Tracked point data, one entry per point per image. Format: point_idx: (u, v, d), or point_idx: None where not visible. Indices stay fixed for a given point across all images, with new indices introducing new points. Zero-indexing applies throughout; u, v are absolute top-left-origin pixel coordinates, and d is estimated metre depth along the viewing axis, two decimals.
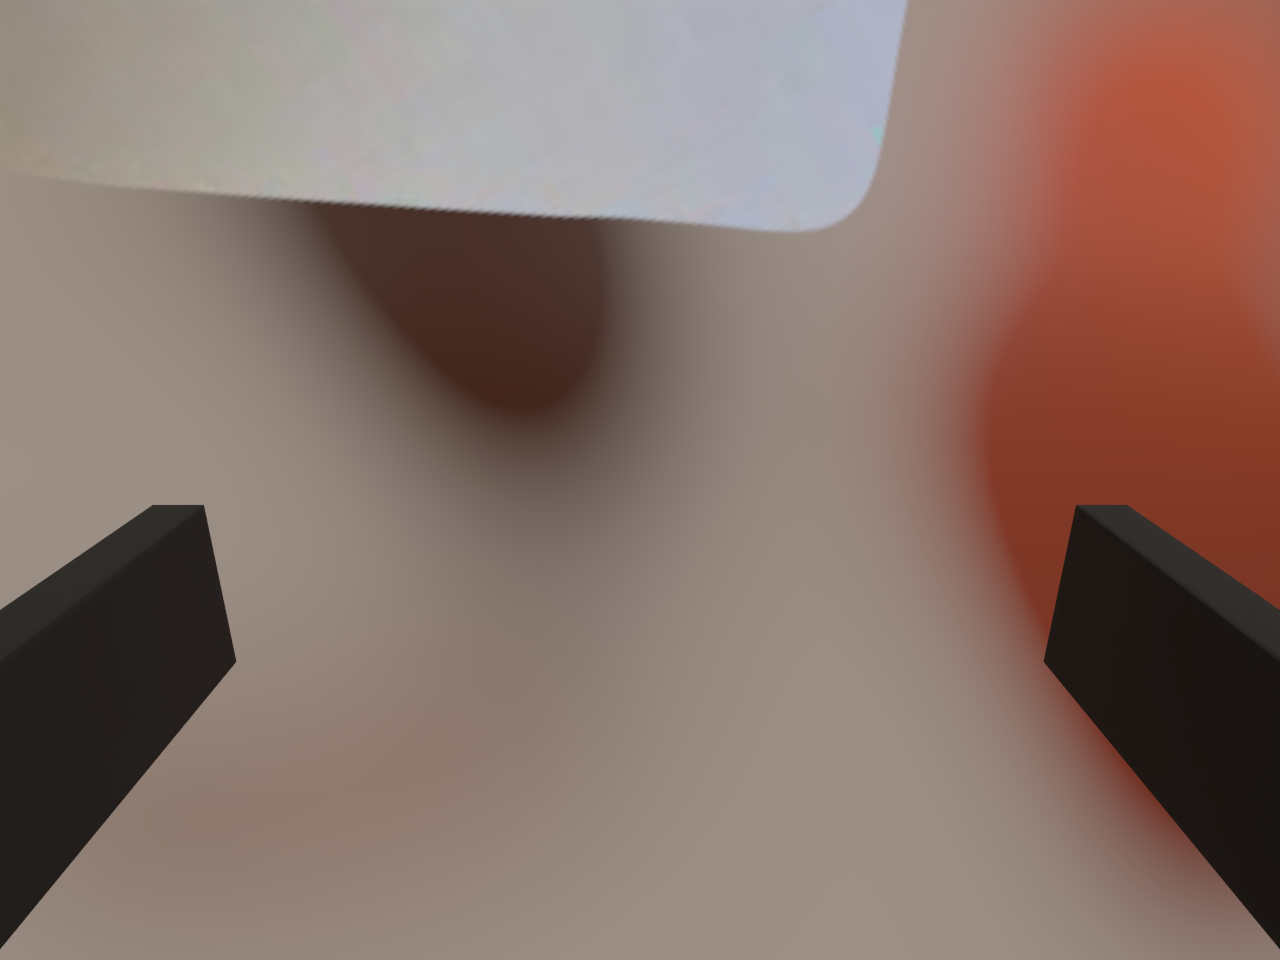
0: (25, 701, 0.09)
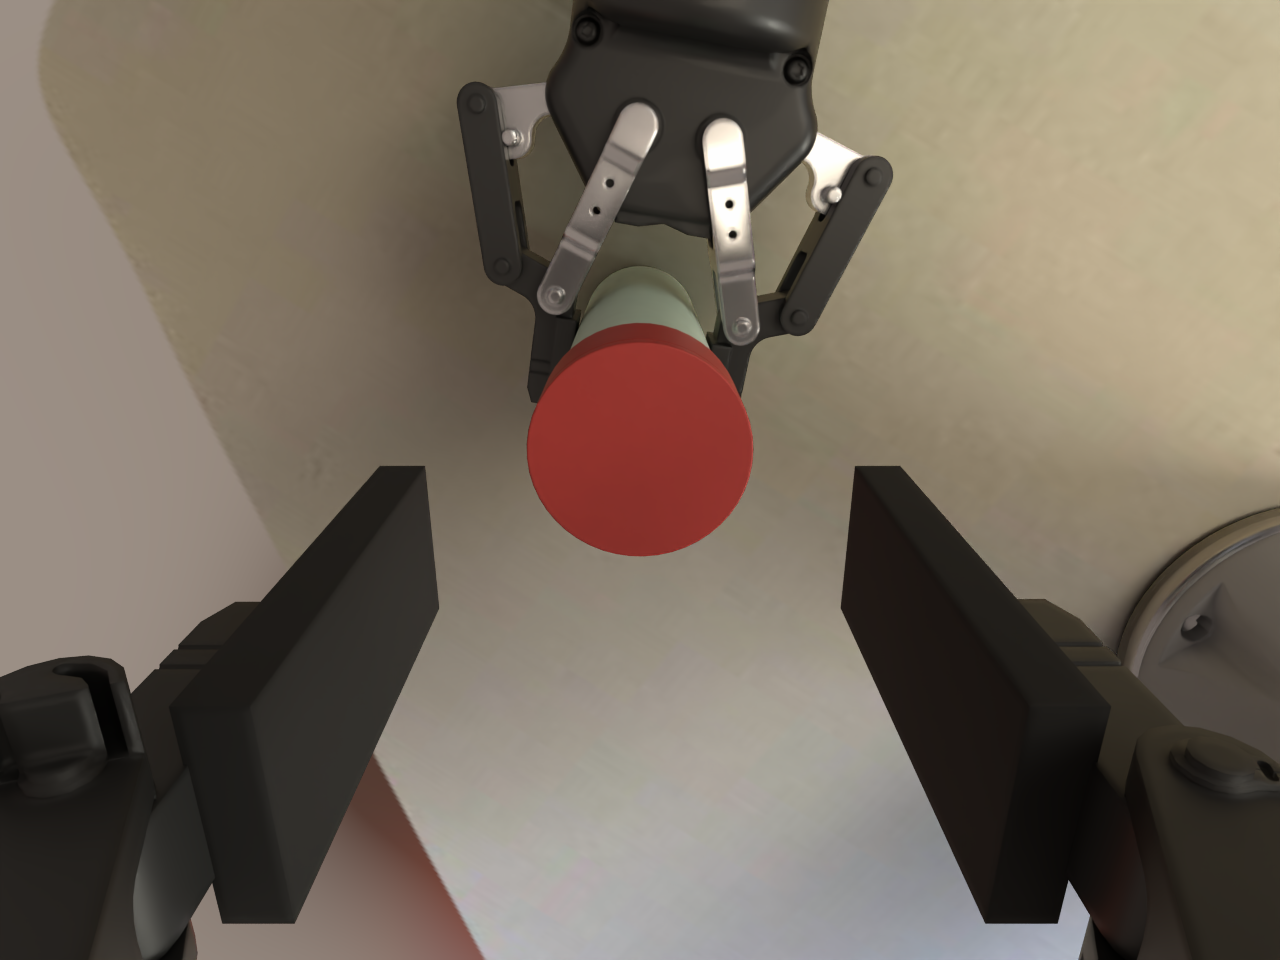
0: (350, 618, 0.10)
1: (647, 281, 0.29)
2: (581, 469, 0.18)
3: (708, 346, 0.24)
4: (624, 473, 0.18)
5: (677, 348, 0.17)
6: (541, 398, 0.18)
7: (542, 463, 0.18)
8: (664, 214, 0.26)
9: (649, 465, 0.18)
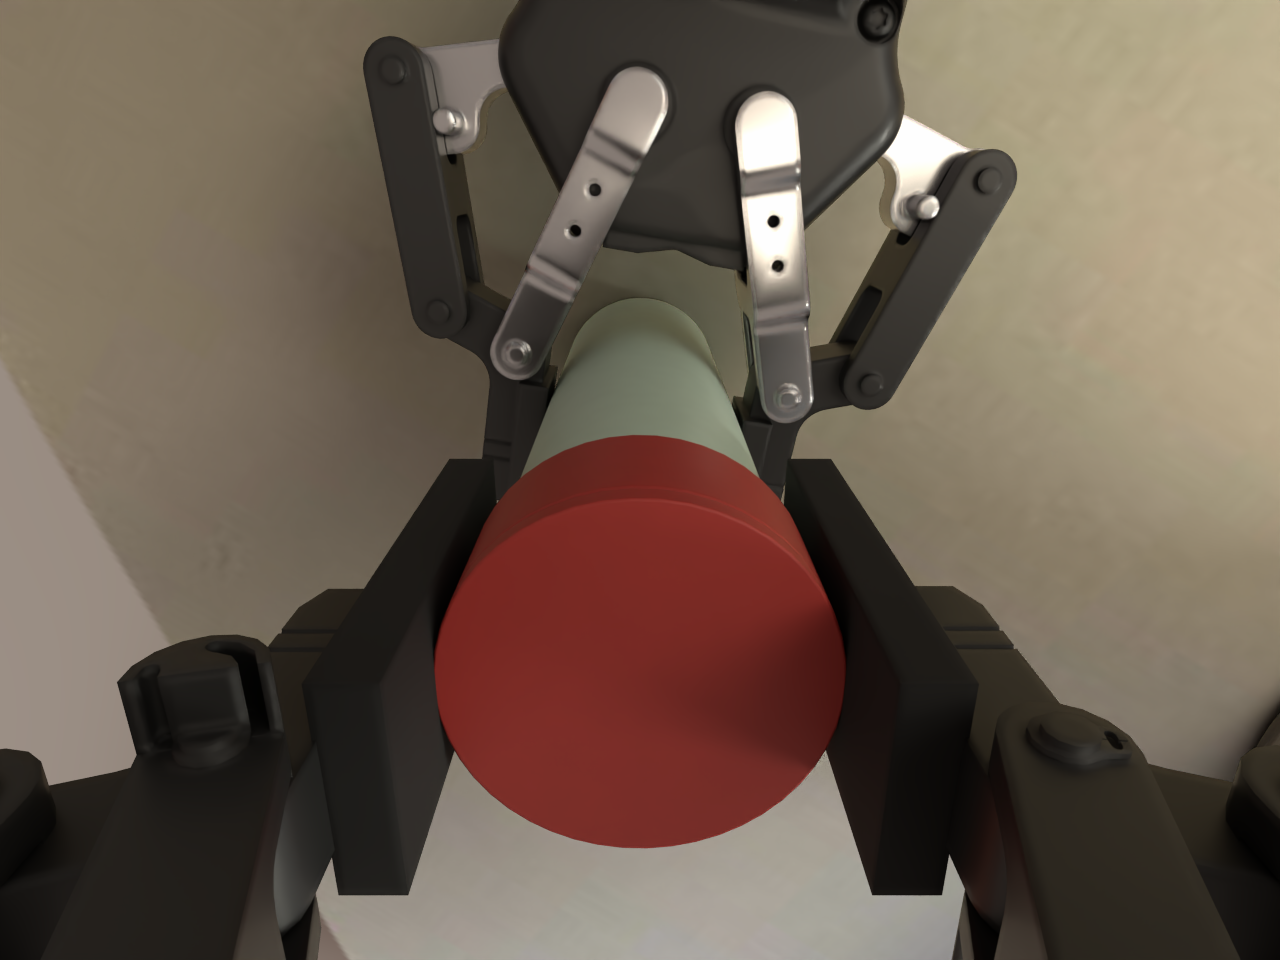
0: (444, 604, 0.10)
1: (650, 326, 0.20)
2: (533, 713, 0.10)
3: None
4: (611, 719, 0.10)
5: (711, 509, 0.09)
6: (456, 596, 0.10)
7: (462, 703, 0.10)
8: (676, 235, 0.17)
9: (656, 707, 0.10)
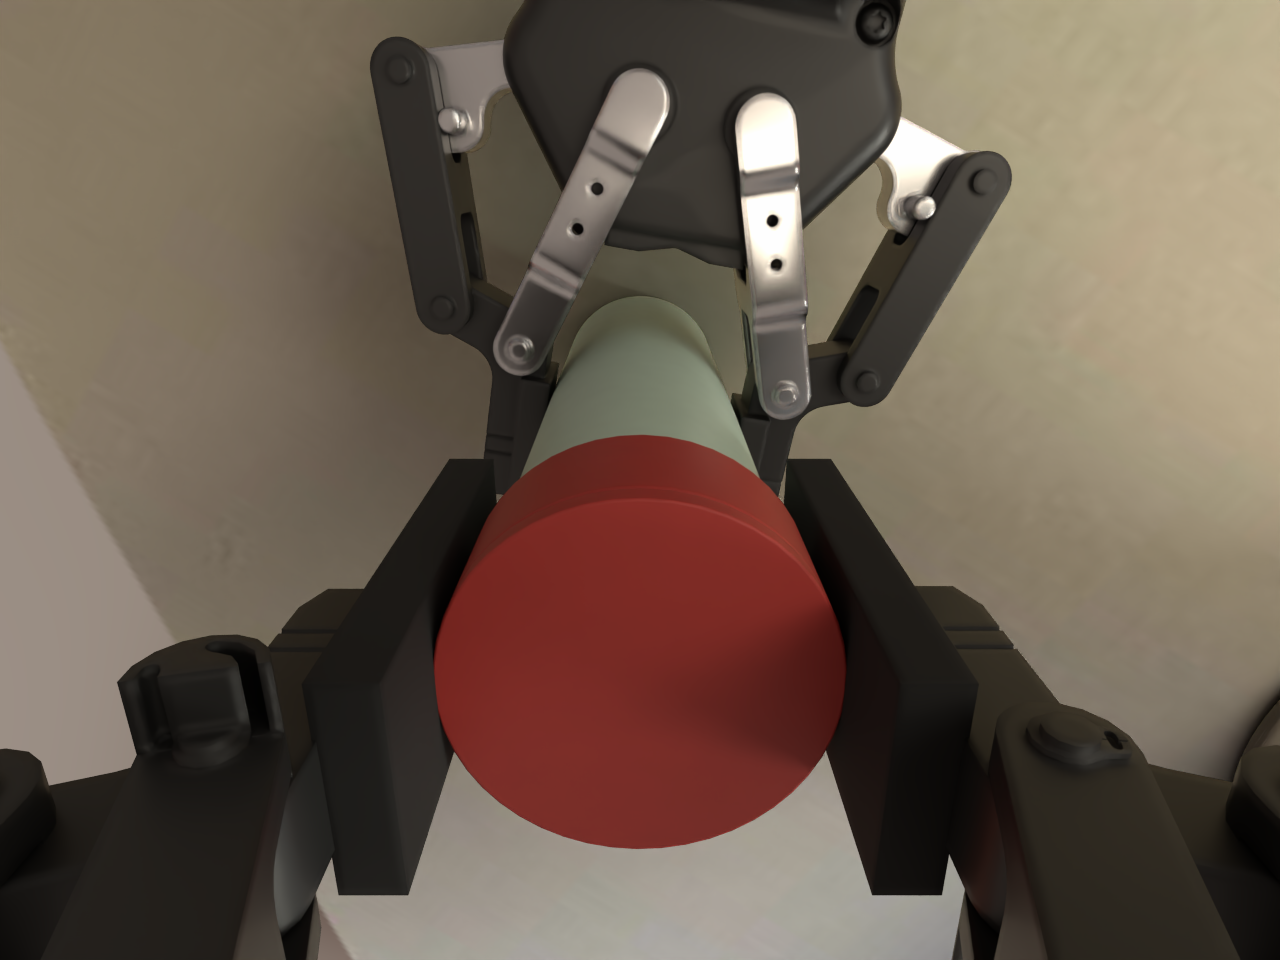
0: (444, 604, 0.10)
1: (650, 324, 0.21)
2: (687, 770, 0.10)
3: (741, 431, 0.17)
4: (680, 707, 0.10)
5: None
6: None
7: (688, 824, 0.11)
8: (676, 234, 0.18)
9: (656, 672, 0.10)
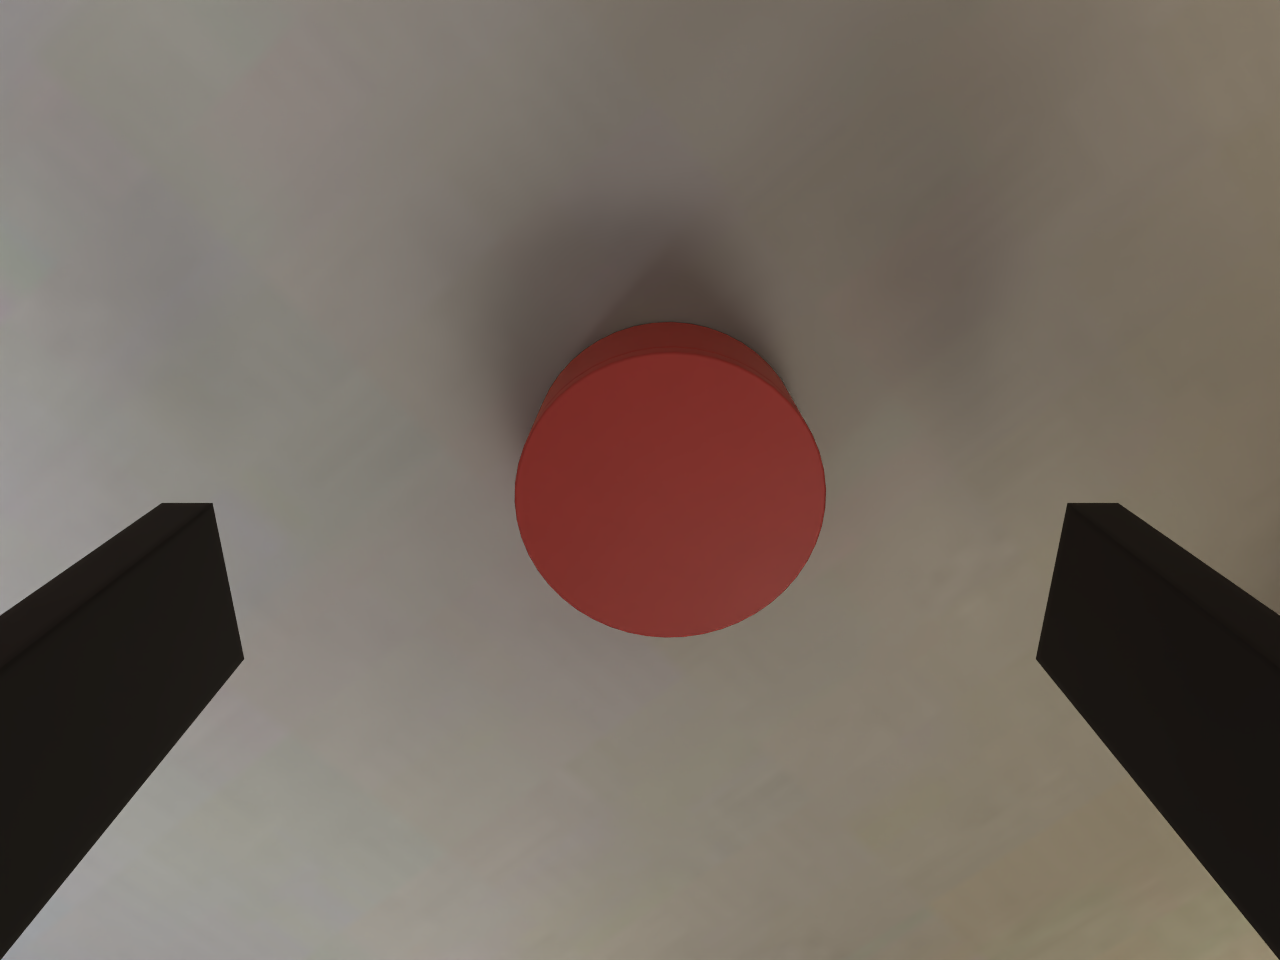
0: (39, 697, 0.09)
1: None
2: (705, 571, 0.14)
3: None
4: (700, 519, 0.13)
5: (515, 487, 0.13)
6: (620, 629, 0.14)
7: (705, 617, 0.14)
8: None
9: (682, 490, 0.13)
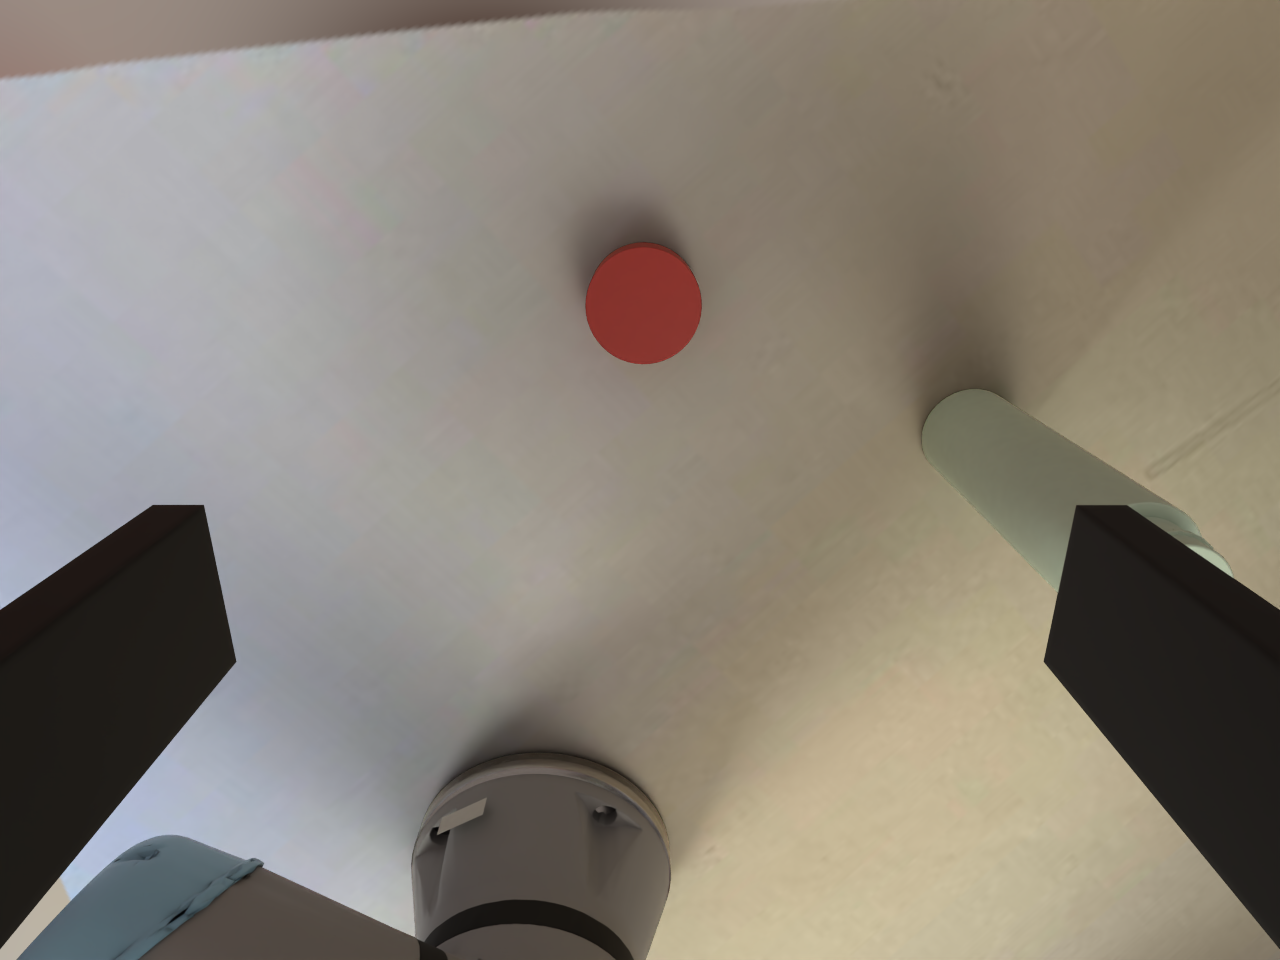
0: (25, 701, 0.09)
1: None
2: (657, 334, 0.36)
3: None
4: (655, 312, 0.36)
5: (586, 300, 0.35)
6: (624, 360, 0.36)
7: (658, 354, 0.36)
8: None
9: (648, 301, 0.35)
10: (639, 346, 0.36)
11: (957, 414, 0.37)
